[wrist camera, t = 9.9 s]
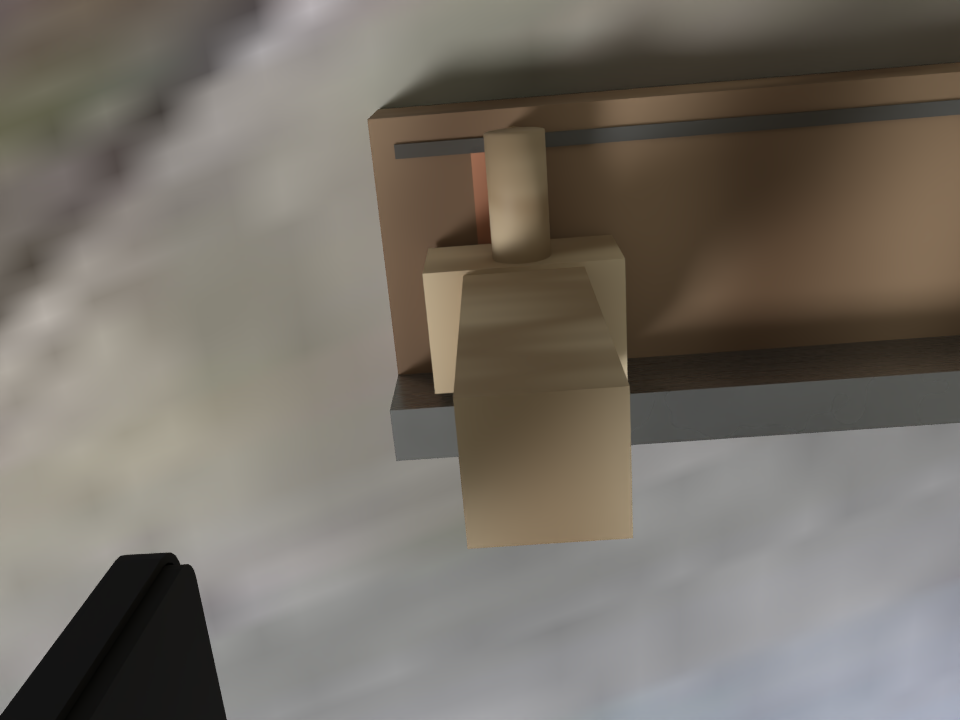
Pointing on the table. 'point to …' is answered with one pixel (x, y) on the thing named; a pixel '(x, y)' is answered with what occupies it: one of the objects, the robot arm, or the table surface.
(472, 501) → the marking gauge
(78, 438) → the table surface
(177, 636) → the robot arm
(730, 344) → the wooden slotted block
